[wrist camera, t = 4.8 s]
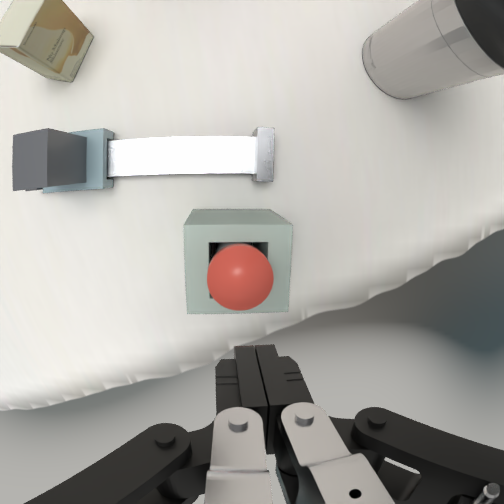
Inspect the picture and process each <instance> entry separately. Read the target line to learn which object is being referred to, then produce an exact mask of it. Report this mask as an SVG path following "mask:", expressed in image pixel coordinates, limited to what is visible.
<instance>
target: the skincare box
mask: <svg viewBox="0 0 504 504" xmlns="http://www.w3.org/2000/svg"><path fill="white" fill-rule="evenodd" d="M92 39H93V35H92V34H91V33H90V31H89V30H88V29H87V28H86V27H85V26H84V25H83V23H82V22H81V21H80V20H79V19H78V18H77V16H76V15H75V14H74V13H73V12H72V11H71V10H70V9H69V7H68V6H67V5H66V4H65V3H64V2H63V1H62V0H13V1H12V3H11V5H10V6H9V8H8V10H7V11H6V13H5V14H4V16H3V18H2V20H1V22H0V52H1V53H2V54H4V55H6V56H8V57H10V58H12V59H13V60H15V61H17V62H19V63H21V64H22V65H24V66H26V67H28V68H30V69H31V70H33V71H35V72H37V73H39V74H40V75H42V76H44V77H46V78H50V79H55V80H60V81H67V82H72V81H73V79H74V77H75V75H76V73H77V70H78V68H79V66H80V64H81V62H82V60H83V58H84V56H85V54H86V51H87V49H88V47H89V45H90V43H91V41H92Z"/></svg>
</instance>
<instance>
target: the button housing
mask: <svg viewBox="0 0 504 504" xmlns="http://www.w3.org/2000/svg"><path fill="white" fill-rule="evenodd" d="M292 232H293V225H292V224H291V223H290V222H288V221H287V220H285V219H284V218H282V217H281V216H279V215H278V214H276V213H275V212H273V211H272V210H270V209H193V210H192V212H191V214H190V215H189V217H188V218H187V220H186V222H185V223H184V259H185V283H186V303H187V314H235V313H270V312H288V306H289V290H290V272H291V253H292ZM211 242H253V247H255V248H257V249H258V250H260V251H261V252H262V253H263V254H264V255H265V257H266V258H267V260H268V261H269V263H270V265H271V267H272V270H273V275H274V281H273V286H272V289H271V292H270V294H269V295H268V297H267V298H266V299H265V300H264V301H263V302H262V303H261V304H259V305H258V306H256V307H254V308H252V309H249V310H242V311H236V310H231V309H227V308H225V307H223V306H221V305H220V304H219V303H217V302H216V301H215V300H214V298H213V297H212V296H211V294H210V292H209V289H208V285H207V271H208V266H209V263H210V261H211Z"/></svg>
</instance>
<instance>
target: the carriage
mask: <svg viewBox="0 0 504 504" xmlns="http://www.w3.org/2000/svg"><path fill="white" fill-rule="evenodd" d="M107 140H113V132H112V131H109V130H107V129H104V128H103V129H93V130H85V131H77V132H70V133H67V132H62V131H58V130H54V129H49V128H47V129H41V130H36V131H31V132H26V133H21V134H16V135H13V163H12V172H13V191H17V190H26V189H35V188H43V193H50V192H62V191H75V190H89V189H104V188H110V187H113V179H110V180H107Z"/></svg>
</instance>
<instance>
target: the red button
mask: <svg viewBox="0 0 504 504" xmlns="http://www.w3.org/2000/svg"><path fill="white" fill-rule="evenodd" d="M273 281H274V275H273V270H272V267H271V265H270V263H269V261H268V260H267V258H266V257H265V255H264V254H263V253H262V252H261V251H260V250H258V249H257V248H255V247H253V246H251V244H250V242H216V246H215V255H214V256H213V258H212V259H211V261H210V263H209V266H208V271H207V285H208V289H209V292H210V294H211V296H212V297H213V298H214V300H215V301H216V302H217V303H219V304H220V305H221V306H223V307H225V308H227V309H231V310H236V311H242V310H249V309H252V308H254V307H256V306H258V305H259V304H261V303H262V302H263V301H264V300H265V299H266V298H267V297H268V295H269V294H270V292H271V289H272V286H273Z"/></svg>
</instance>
